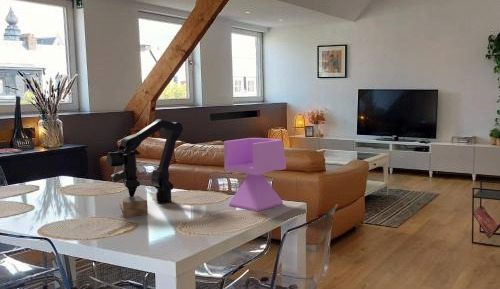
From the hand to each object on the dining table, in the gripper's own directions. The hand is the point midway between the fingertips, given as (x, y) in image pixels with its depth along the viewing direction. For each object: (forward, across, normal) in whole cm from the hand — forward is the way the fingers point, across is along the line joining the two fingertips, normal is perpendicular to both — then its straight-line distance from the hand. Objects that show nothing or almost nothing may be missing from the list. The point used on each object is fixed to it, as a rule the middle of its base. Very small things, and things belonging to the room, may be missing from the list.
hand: (131, 198), depth 228 cm
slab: (+1, +7, +1) cm, 7 cm away
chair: (+4, +18, +54) cm, 57 cm away
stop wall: (+4, +15, 0) cm, 15 cm away
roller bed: (+4, +4, 0) cm, 6 cm away
